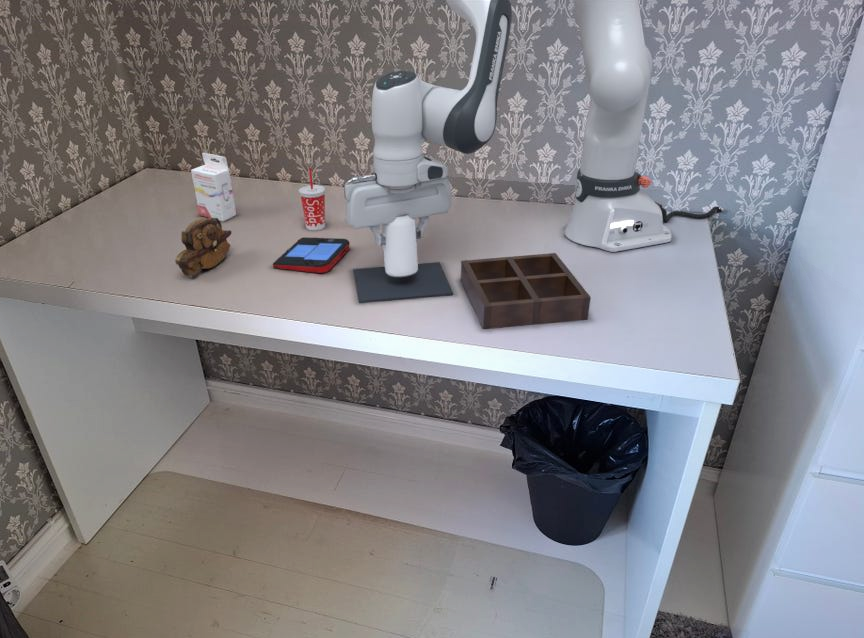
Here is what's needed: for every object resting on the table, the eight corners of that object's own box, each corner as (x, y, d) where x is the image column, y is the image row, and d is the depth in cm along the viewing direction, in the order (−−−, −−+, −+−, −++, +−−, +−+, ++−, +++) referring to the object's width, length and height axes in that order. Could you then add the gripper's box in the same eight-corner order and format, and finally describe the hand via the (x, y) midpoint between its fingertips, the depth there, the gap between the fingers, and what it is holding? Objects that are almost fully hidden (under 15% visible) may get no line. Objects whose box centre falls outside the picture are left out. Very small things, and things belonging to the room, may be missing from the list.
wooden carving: (197, 284, 137) (187, 238, 131) (178, 282, 138) (167, 236, 133) (239, 252, 149) (231, 208, 144) (221, 250, 151) (213, 207, 145)
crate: (553, 273, 135) (555, 252, 133) (587, 319, 120) (590, 297, 117) (460, 281, 134) (461, 260, 131) (483, 329, 118) (484, 306, 116)
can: (415, 278, 129) (410, 216, 124) (382, 278, 131) (376, 217, 125) (421, 266, 135) (417, 206, 129) (389, 266, 136) (384, 207, 131)
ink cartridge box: (198, 216, 169) (186, 157, 161) (212, 209, 172) (202, 151, 164) (223, 222, 165) (213, 161, 157) (237, 215, 168) (227, 156, 160)
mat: (439, 264, 141) (439, 261, 141) (453, 295, 129) (453, 292, 129) (353, 271, 139) (353, 269, 139) (359, 303, 128) (358, 300, 127)
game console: (301, 241, 153) (300, 232, 152) (353, 248, 149) (353, 238, 148) (271, 268, 142) (269, 258, 141) (326, 276, 138) (325, 266, 137)
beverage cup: (298, 229, 159) (291, 170, 152) (309, 220, 164) (303, 162, 156) (321, 232, 157) (316, 173, 150) (332, 223, 162) (327, 164, 154)
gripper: (349, 183, 117) (353, 257, 124) (456, 166, 123) (454, 238, 130) (337, 173, 122) (343, 244, 129) (441, 157, 127) (440, 226, 135)
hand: (399, 241), depth 130 cm, fingers closed on can, 6 cm apart
